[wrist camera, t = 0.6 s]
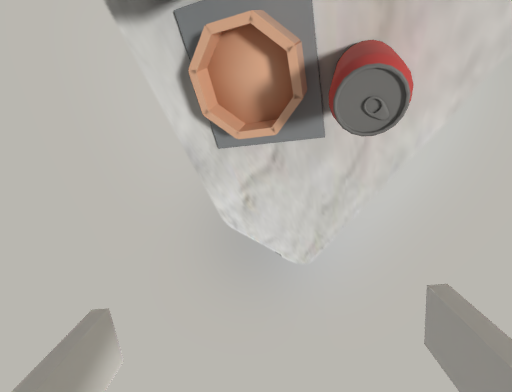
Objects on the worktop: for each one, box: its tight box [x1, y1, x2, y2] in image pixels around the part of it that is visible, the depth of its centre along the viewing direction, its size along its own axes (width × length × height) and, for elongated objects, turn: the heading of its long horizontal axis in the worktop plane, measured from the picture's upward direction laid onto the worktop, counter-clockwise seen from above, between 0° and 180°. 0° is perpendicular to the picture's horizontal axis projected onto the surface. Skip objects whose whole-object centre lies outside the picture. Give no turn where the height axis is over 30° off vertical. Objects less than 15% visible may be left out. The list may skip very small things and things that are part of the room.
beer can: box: [329, 40, 413, 136], centre depth 25 cm, size 7×7×12 cm
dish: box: [188, 10, 307, 139], centre depth 32 cm, size 13×13×4 cm
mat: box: [174, 0, 325, 149], centre depth 33 cm, size 18×16×1 cm
